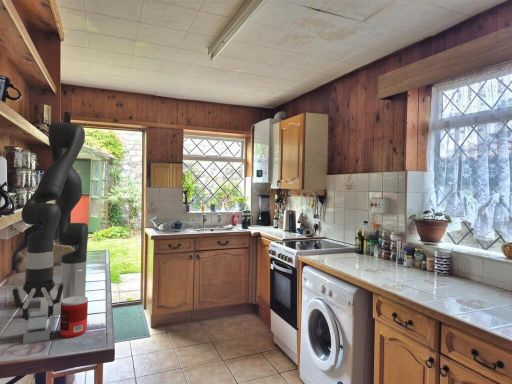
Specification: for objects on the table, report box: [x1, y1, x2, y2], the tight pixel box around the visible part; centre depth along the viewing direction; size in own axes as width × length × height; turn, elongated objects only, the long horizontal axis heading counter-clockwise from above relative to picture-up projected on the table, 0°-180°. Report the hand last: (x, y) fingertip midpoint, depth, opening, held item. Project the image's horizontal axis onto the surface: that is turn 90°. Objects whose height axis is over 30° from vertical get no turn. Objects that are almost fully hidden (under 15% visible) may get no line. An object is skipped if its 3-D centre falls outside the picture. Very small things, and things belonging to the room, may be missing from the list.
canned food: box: [59, 296, 89, 339], centre depth 110 cm, size 8×8×11 cm
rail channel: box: [22, 325, 52, 345], centre depth 107 cm, size 9×7×3 cm
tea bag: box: [40, 287, 63, 317], centre depth 126 cm, size 4×7×10 cm, turn 115°
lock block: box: [28, 311, 48, 332], centre depth 107 cm, size 6×5×7 cm
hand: (38, 317), depth 107 cm, fingers open, 5 cm apart
